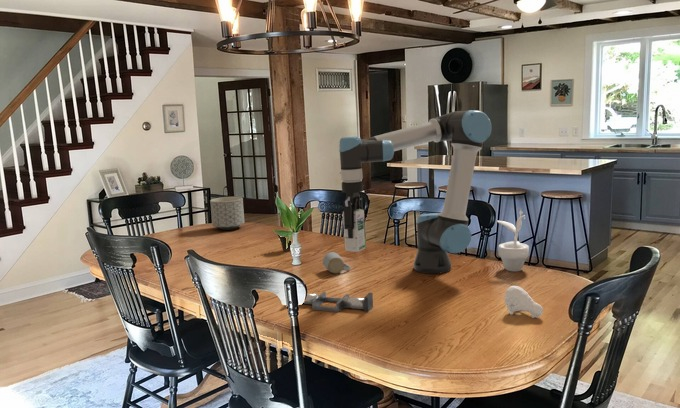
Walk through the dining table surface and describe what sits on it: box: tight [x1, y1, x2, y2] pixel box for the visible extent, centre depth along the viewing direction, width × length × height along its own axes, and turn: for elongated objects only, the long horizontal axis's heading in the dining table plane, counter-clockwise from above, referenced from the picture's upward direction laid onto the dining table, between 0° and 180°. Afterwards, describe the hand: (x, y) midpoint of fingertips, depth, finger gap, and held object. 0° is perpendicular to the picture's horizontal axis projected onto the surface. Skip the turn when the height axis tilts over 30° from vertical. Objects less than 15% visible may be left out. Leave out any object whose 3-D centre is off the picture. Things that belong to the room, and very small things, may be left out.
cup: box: [277, 234, 291, 253], centre depth 262 cm, size 9×9×10 cm
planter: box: [209, 196, 246, 231], centre depth 322 cm, size 19×19×18 cm
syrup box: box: [342, 208, 367, 253], centre depth 192 cm, size 6×6×14 cm
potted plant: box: [496, 209, 530, 272], centre depth 213 cm, size 13×12×25 cm
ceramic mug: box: [322, 251, 351, 275], centre depth 224 cm, size 11×8×8 cm
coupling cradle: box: [303, 291, 374, 313], centre depth 183 cm, size 29×10×5 cm, turn 68°
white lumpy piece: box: [503, 285, 544, 319], centre depth 167 cm, size 6×8×12 cm
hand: (355, 244), depth 193 cm, fingers closed on syrup box, 6 cm apart
